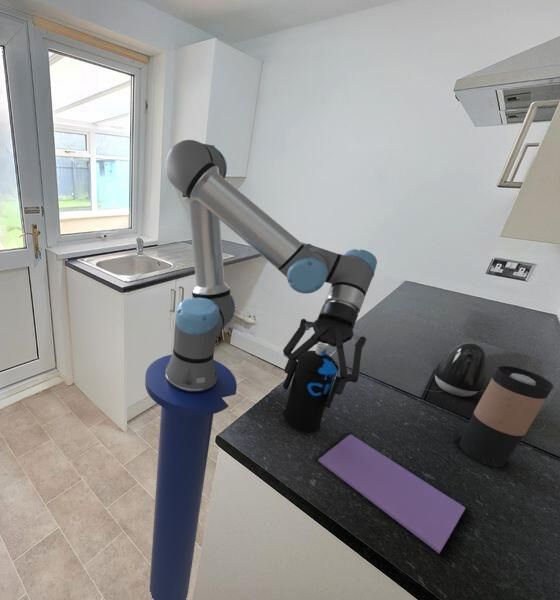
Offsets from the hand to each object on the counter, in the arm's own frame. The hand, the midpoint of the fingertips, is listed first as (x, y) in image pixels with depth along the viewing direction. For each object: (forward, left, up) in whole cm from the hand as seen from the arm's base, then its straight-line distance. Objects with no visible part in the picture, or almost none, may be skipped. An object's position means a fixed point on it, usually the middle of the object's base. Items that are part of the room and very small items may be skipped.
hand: (305, 396), depth 67 cm
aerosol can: (-1, +3, -9) cm, 9 cm away
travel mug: (+25, +30, -10) cm, 41 cm away
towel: (+17, +3, -10) cm, 20 cm away
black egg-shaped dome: (+14, +54, -10) cm, 57 cm away
